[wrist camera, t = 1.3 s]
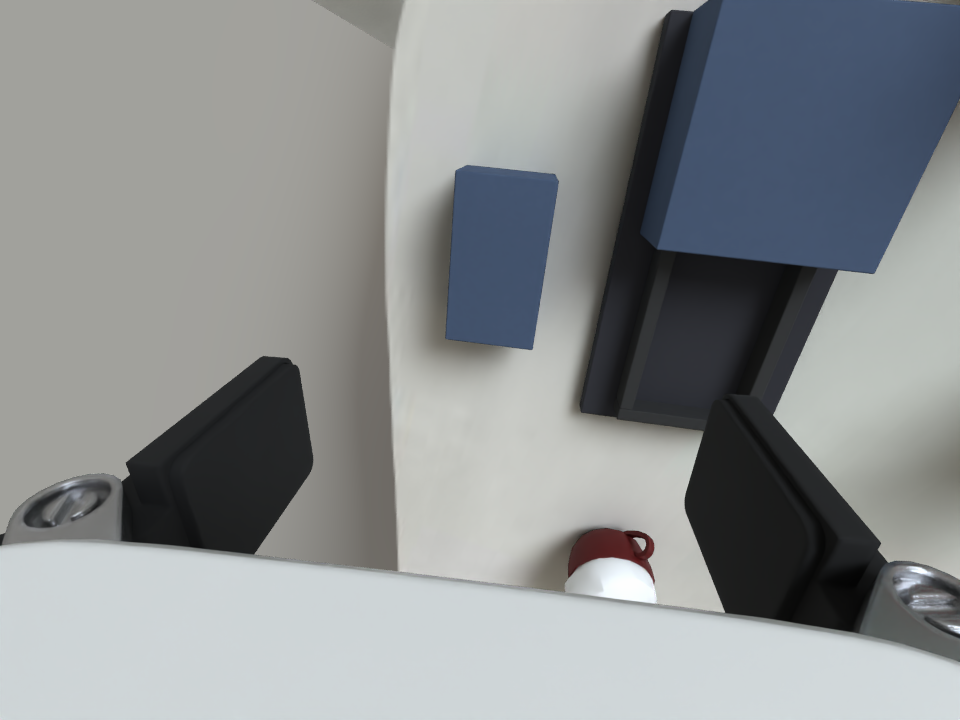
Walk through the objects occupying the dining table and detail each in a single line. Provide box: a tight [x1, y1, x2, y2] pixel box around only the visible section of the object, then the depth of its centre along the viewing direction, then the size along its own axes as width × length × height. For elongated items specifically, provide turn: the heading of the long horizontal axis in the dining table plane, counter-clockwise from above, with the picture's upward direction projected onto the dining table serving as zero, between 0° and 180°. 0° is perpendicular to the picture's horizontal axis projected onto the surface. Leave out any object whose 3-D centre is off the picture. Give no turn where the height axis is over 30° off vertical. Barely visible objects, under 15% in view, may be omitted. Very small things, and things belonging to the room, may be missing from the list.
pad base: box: [580, 0, 960, 431], centre depth 24 cm, size 12×22×5 cm, turn 175°
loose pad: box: [445, 165, 559, 350], centre depth 26 cm, size 5×9×4 cm, turn 175°
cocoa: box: [565, 528, 657, 604], centre depth 32 cm, size 10×6×12 cm, turn 124°
